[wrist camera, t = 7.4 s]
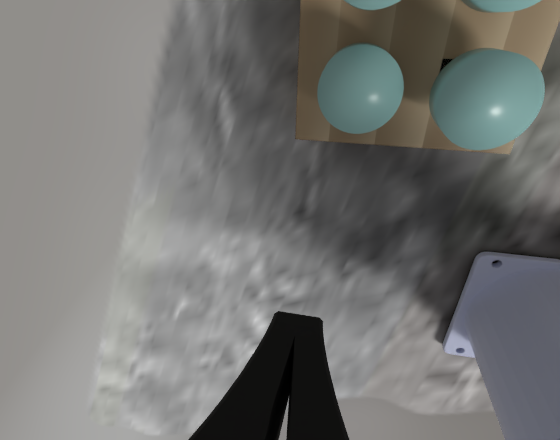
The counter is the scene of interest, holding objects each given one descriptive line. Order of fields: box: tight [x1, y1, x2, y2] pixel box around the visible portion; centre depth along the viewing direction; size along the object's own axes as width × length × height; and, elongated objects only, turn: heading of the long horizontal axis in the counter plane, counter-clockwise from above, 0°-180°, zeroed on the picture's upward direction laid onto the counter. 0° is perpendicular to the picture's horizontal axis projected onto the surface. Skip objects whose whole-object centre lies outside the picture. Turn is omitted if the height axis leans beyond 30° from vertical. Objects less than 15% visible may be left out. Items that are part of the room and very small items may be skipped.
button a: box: [429, 48, 545, 150], centre depth 12 cm, size 3×3×4 cm
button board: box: [295, 0, 560, 154], centre depth 13 cm, size 9×9×2 cm
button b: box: [317, 42, 404, 134], centre depth 14 cm, size 3×3×4 cm
